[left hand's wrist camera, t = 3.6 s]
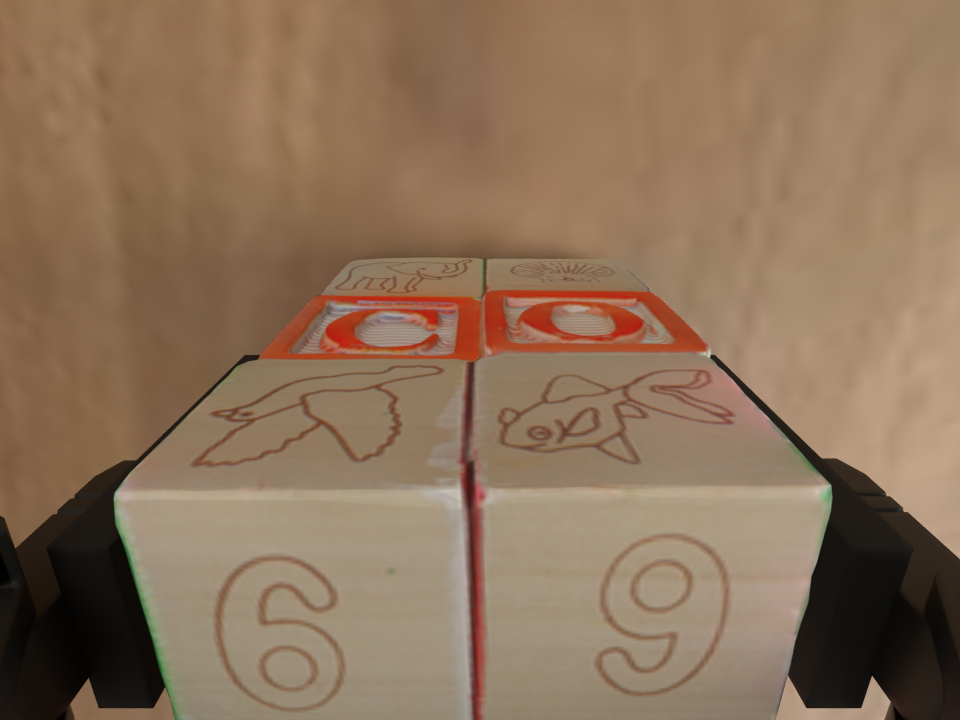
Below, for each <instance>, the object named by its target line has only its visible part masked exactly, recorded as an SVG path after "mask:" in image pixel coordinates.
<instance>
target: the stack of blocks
mask: <svg viewBox="0 0 960 720" xmlns="http://www.w3.org/2000/svg"><path fill="white" fill-rule="evenodd" d="M710 355H711V349H710V347H709V346H708V345H707V344H706V342H705V341H704V340H703V339H702V338H701V337H700V336H699V335H698V334H697V333H696V332H695V331H694V330H693V329H692V328H690V327H689V326H688V325H687V323H686V322H685V321H684V320H683V319H682V318H681V317H680V316H678V315H677V314H676V313H675V312H674V311H673V310H672V309H671V308H670V307H669V306H668V305H667V304H666V303H665V302H664V301H662V300H661V299H660V298H659V297H658V296H657V295H655V294H653V293H651V292H650V291H649V288H647V287H646V286H645V285H644V284H643V283H642V282H641V281H639V280H638V279H637V278H636V277H635V276H634V275H633V273H631V272H630V271H629V270H628V269H627V268H626V267H625V266H623V265H622V264H621V263H620V262H619V261H618V260H616V259H613V258H608V259H487V260H485V259H479V258H439V257H429V258H380V259H364V260H355V261H353V262H350V263H348V264H347V265H346V266H345V267H344V268H343V269H342V270H341V271H340V272H339V273H338V274H337V275H336V276H335V277H334V279H333V280H332V281H331V282H330V284H329V285H328V286H327V287H326V288H325V290H324V291H323V292H322V293H321V294H320V295H318V296H316V297H314V298H312V299H311V300H310V301H308V303H307V304H306V305H305V307H304V308H303V309H302V310H301V311H300V312H299V313H297V315H296V316H295V317H294V318H293V319H292V320H291V322H290V323H289V324H288V325H287V326H286V327H285V328H284V329H283V330H282V331H281V332H280V333H279V334H278V335H277V336H276V337H275V338H274V339H273V340H272V342H271V343H270V344H269V345H268V346H267V348H266V349H265V350H264V351H263V352H262V354H261V355H260V356H259V358H258V360H254V361H248V362H246V363H244V364H241V365H239V366H237V367H236V368H235V369H234V370H233V371H232V372H231V374H230V375H229V376H228V377H227V378H226V379H225V380H224V381H222V382H221V383H220V384H219V385H218V386H217V387H216V388H215V389H214V391H213V392H212V393H211V394H210V395H209V396H208V397H206V398H205V399H204V400H203V401H202V402H201V403H200V404H199V405H198V406H197V407H196V408H195V409H194V410H193V411H192V412H191V413H190V414H189V415H188V416H187V417H186V418H185V419H184V420H183V421H182V422H181V423H180V424H179V425H178V426H177V427H176V428H175V429H174V430H173V431H172V432H171V433H170V434H169V435H168V436H167V437H166V438H165V439H164V440H163V441H162V442H161V443H160V444H159V445H158V446H157V447H156V448H155V449H154V450H153V451H152V452H151V453H150V454H149V455H148V456H147V457H146V458H145V459H144V460H143V461H142V462H141V463H140V464H139V465H138V466H137V467H136V468H135V469H133V470H132V471H131V472H130V473H129V475H128V476H127V477H126V479H125V480H124V481H123V482H122V484H121V485H120V486H119V488H118V489H117V490H116V491H115V493H114V511H115V524H116V527H117V529H118V532H119V535H120V537H121V540H122V542H123V545H124V548H125V551H126V554H127V558H128V561H129V564H130V568H131V571H132V575H133V578H134V581H135V585H136V588H137V592H138V595H139V598H140V602H141V605H142V608H143V611H144V615H145V618H146V621H147V624H148V628H149V631H150V634H151V637H152V641H153V645H154V649H155V653H156V657H157V661H158V665H159V669H160V672H161V675H162V678H163V681H164V684H165V687H166V690H167V693H168V695H169V697H170V700H171V704H172V709H173V713H174V718H175V720H775V719H776V715H777V712H778V708H779V705H780V702H781V698H782V694H783V691H784V687H785V683H786V680H787V676H788V672H789V669H790V664H791V659H792V655H793V650H794V645H795V641H796V637H797V634H798V631H799V628H800V624H801V621H802V618H803V616H804V613H805V610H806V607H807V604H808V600H809V592H810V583H811V576H812V574H813V571H814V568H815V566H816V563H817V560H818V556H819V552H820V548H821V545H822V541H823V537H824V533H825V530H826V526H827V523H828V519H829V516H830V512H831V505H832V488H831V484H830V483H829V482H828V481H827V480H826V479H825V478H824V477H823V476H822V475H821V474H820V473H819V472H818V471H817V470H816V469H815V468H814V467H813V466H812V465H811V463H810V462H809V461H808V460H807V459H806V458H805V457H804V456H803V454H802V453H801V452H800V451H799V450H798V449H797V448H796V447H795V446H794V444H793V443H792V442H791V441H790V440H789V439H788V438H787V437H786V435H785V434H784V433H783V432H782V431H781V430H780V429H779V428H778V427H777V426H776V425H775V424H774V423H773V422H772V421H771V420H770V419H769V418H768V417H767V416H766V415H765V414H764V413H763V412H762V411H761V410H760V409H759V408H758V407H757V406H756V405H755V404H754V403H753V402H752V401H751V400H750V399H749V398H748V397H747V396H746V395H745V394H744V392H743V391H742V390H741V389H740V388H739V387H738V385H737V384H736V383H735V382H734V381H733V379H731V378H730V377H729V376H728V375H727V374H726V373H725V372H724V371H723V370H722V369H721V368H719V367H718V366H717V365H716V363H715V362H714V361H713V360H712V359H711V358H710Z"/></svg>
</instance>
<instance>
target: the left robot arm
mask: <svg viewBox="0 0 960 720" xmlns="http://www.w3.org/2000/svg"><path fill="white" fill-rule="evenodd" d="M259 356H260V355H245V356H244V357H243V358H241V359H240V360H239V361H238V362H237V363H236V364H235V365H234V366H233V367H232V368H231V369H230V370H229V371H228V372H227V373H226V374H225V375H224V376H223V377H222V378H221V379H220V380H219V381H218V382H217V383H216V384H215V385H214V386H213V387H212V388H211V389H210V390H209V391H207V392H206V393H205V394H204V395H203V396H202V397H201V398H200V399H199V400H198V401H197V402H196V403H195V404H194V405H193V406H192V407H191V408H190V409H189V410H188V411H187V412H186V413H185V414H184V415H183V416H182V417H181V418H180V419H179V420H178V421H177V422H176V423H175V424H173V425H172V426H171V427H170V428H169V429H168V430H167V431H166V432H165V433H164V434H163V435H162V436H161V437H160V438H159V439H158V440H157V441H156V442H155V443H154V444H153V445H152V446H151V447H150V448H149V449H148V450H147V451H146V452H145V453H144V454H143V455H142V456H141V457H139V458H138V459H137V460H136V461H122V462H120V463H119V464H117V465H115V466H113V467H111V468H109V469H108V470H106V471H104V472H102V473H100V474H98V475H97V476H95V477H94V478H93V479H92V480H91V481H89V482H88V483H87V484H86V485H85V486H84V487H83V488H82V489H81V490H79V491H78V492H77V493H76V494H75V498H74V499H70V500H68V501H67V502H66V503H65V504H64V505H63V506H62V507H61V508H60V509H59V510H58V513H57V514H53V515H52V516H51V517H50V518H49V519H48V520H46V521H45V522H44V523H43V524H42V525H41V526H40V527H39V528H38V529H37V530H35V531H34V532H33V533H32V534H31V535H30V536H29V537H28V538H27V539H25V540H24V541H23V542H22V543H21V544H20V545H19V546H18V547H17V548H16V549H15V547H14V544H13V541H12V538H11V536H10V533H9V530H8V527H7V524H6V521H5V519H4V518H3V517H2V516H0V720H75V719H74V714H73V711H72V709H71V706H70V703H71V702H72V700H73V699H74V698H75V696H76V695H77V693H78V692H79V691H80V689H81V688H82V686H83V685H84V683H85V682H86V681H87V679H88V678H89V680H90V683H91V686H92V689H93V692H94V695H95V698H96V701H97V704H98V707H99V708H154V706H155V704H156V703H157V701H158V699H159V697H160V696H161V694H162V692H163V690H164V688H165V684H164V681H163V678H162V675H161V672H160V669H159V665H158V661H157V657H156V653H155V649H154V645H153V641H152V637H151V634H150V631H149V628H148V624H147V621H146V618H145V615H144V611H143V608H142V605H141V602H140V598H139V595H138V592H137V588H136V585H135V581H134V578H133V575H132V571H131V568H130V564H129V561H128V558H127V554H126V551H125V548H124V545H123V542H122V540H121V537H120V535H119V532H118V529H117V527H116V524H115V511H114V493H115V491H116V490H117V489H118V488H119V486H120V485H121V484H122V482H123V481H124V480H125V479H126V477H127V476H128V475H129V473H130V472H131V471H132V470H133V469H135V468H136V467H137V466H138V465H139V464H140V463H141V462H142V461H143V460H144V459H145V458H146V457H147V456H148V455H149V454H150V453H151V452H152V451H153V450H154V449H155V448H156V447H157V446H158V445H159V444H160V443H161V442H162V441H163V440H164V439H165V438H166V437H167V436H168V435H169V434H170V433H171V432H172V431H173V430H174V429H175V428H176V427H177V426H178V425H179V424H180V423H181V422H182V421H183V420H184V419H185V418H186V417H187V416H188V415H189V414H190V413H191V412H192V411H193V410H194V409H195V408H196V407H197V406H198V405H199V404H200V403H201V402H202V401H203V400H204V399H205V398H206V397H208V396H209V395H210V394H211V393H212V392H213V391H214V389H215V388H216V387H217V386H218V385H219V384H220V383H221V382H222V381H224V380H225V379H226V378H227V377H228V376H229V375H230V374H231V372H232V371H233V370H234V369H235V368H236V367H237V366H239V365H241V364H244V363H246V362H248V361H254V360H258V358H259ZM710 358H711V359H712V360H713V361H714V362H715V363H716V365H717V366H718V367H719V368H721V369H722V370H723V371H724V372H725V373H726V374H727V375H728V376H729V377H730V378H731V379H733V381H734V382H735V383H736V384H737V385H738V387H739V388H740V389H741V390H742V391H743V392H744V394H745V395H746V396H747V397H748V398H749V399H750V400H751V401H752V402H753V403H754V404H755V405H756V406H757V407H758V408H759V409H760V410H761V411H762V412H763V413H764V414H765V415H766V416H767V417H768V418H769V419H770V420H771V421H772V422H773V423H774V424H775V425H776V426H777V427H778V428H779V429H780V430H781V431H782V432H783V433H784V434H785V435H786V437H787V438H788V439H789V440H790V441H791V442H792V443H793V444H794V446H795V447H796V448H797V449H798V450H799V451H800V452H801V453H802V454H803V456H804V457H805V458H806V459H807V460H808V461H809V462H810V463H811V465H812V466H813V467H814V468H815V469H816V470H817V471H818V472H819V473H820V474H821V475H822V476H823V477H824V478H825V479H826V480H827V481H828V482H829V483H830V484H831V488H832V505H831V512H830V516H829V519H828V523H827V526H826V530H825V533H824V537H823V541H822V545H821V548H820V552H819V556H818V560H817V563H816V566H815V568H814V571H813V574H812V576H811V583H810V592H809V600H808V604H807V607H806V610H805V613H804V616H803V618H802V621H801V624H800V628H799V631H798V634H797V637H796V641H795V645H794V650H793V655H792V659H791V664H790V669H789V672H788V676H789V678H790V680H791V681H792V683H793V685H794V687H795V688H796V690H797V692H798V694H799V696H800V697H801V699H802V701H803V703H804V704H805V706H806V708H861V707H862V704H863V701H864V698H865V695H866V692H867V689H868V686H869V683H870V680H871V677H872V676H873V677H874V679H875V680H876V682H877V683H878V684H879V686H880V687H881V689H882V690H883V691H884V693H885V694H886V696H887V697H888V698H889V700H890V701H891V703H890V706H889V709H888V711H887V714H886V717H885V720H960V559H959V558H958V557H957V556H956V555H955V554H953V553H952V552H951V551H950V550H949V549H948V548H947V547H946V546H945V545H943V544H942V543H941V542H940V541H939V540H938V539H937V538H936V537H935V536H933V535H932V534H931V533H930V532H929V531H928V530H927V529H926V528H925V527H923V526H922V525H921V524H920V523H919V522H918V521H917V520H916V519H915V518H913V517H912V516H911V515H910V514H909V513H908V512H903V508H902V507H901V506H900V505H899V504H898V503H897V502H896V501H895V500H894V499H892V498H891V497H890V496H886V492H885V491H884V490H882V489H881V488H880V487H879V486H878V485H877V484H876V483H875V482H874V481H872V480H871V479H870V478H869V477H868V476H867V475H866V474H864V473H862V472H860V471H859V470H857V469H855V468H853V467H851V466H849V465H847V464H846V463H844V462H842V461H840V460H838V459H822V458H821V457H819V456H818V455H817V454H816V453H815V452H814V451H813V450H812V449H811V448H810V447H809V446H808V445H807V444H806V443H805V442H804V441H803V440H802V439H801V438H800V437H799V436H798V435H797V434H796V433H795V432H794V431H793V430H792V429H791V428H790V427H789V426H788V425H787V424H785V423H784V422H783V421H782V420H781V419H780V418H779V417H778V416H777V415H776V414H775V413H774V412H773V411H772V410H771V409H770V408H769V407H768V406H767V405H766V404H765V403H764V402H763V401H762V400H761V399H760V398H759V397H758V396H757V395H756V394H755V393H754V392H753V391H751V390H750V389H749V388H748V387H747V386H746V385H745V384H744V383H743V382H742V381H741V380H740V379H739V378H738V377H737V376H736V375H735V374H734V373H733V372H732V371H731V370H730V369H729V368H728V367H727V366H726V365H725V364H724V363H723V362H722V361H721V360H720V359H719V358H717V357H716V356H715V355H710Z"/></svg>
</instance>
